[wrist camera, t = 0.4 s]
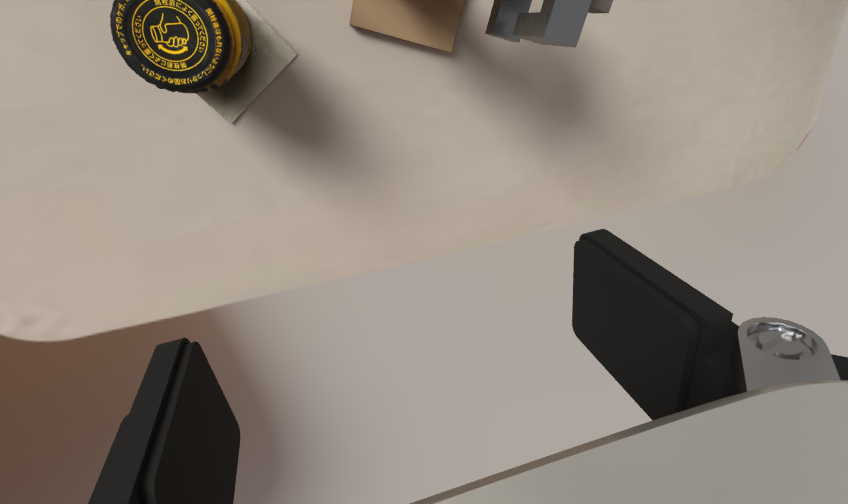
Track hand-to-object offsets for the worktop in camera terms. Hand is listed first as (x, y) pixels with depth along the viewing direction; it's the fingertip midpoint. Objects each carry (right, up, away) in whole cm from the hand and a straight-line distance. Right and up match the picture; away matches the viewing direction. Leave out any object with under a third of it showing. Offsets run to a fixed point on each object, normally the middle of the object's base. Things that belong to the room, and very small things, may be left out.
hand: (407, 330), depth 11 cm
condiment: (-14, +17, +22) cm, 31 cm away
